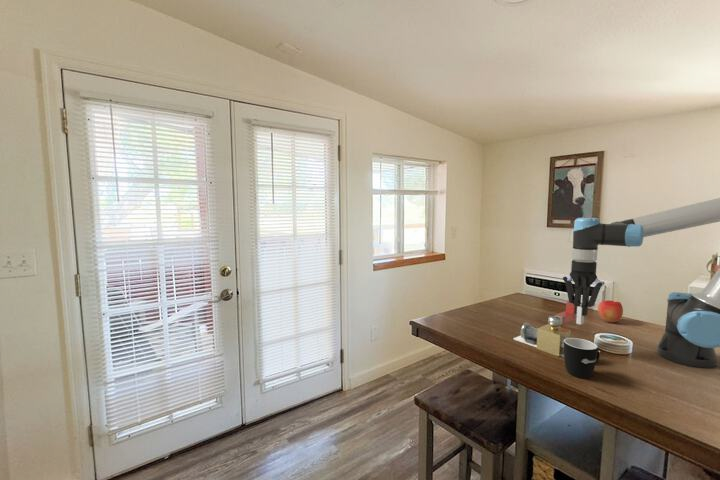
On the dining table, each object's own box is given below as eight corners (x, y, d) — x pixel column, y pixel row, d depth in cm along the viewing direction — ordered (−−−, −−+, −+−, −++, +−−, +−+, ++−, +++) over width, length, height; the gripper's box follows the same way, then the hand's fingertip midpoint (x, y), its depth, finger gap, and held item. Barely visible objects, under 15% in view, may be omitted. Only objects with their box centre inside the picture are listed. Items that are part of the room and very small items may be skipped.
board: (600, 352, 122) (600, 351, 122) (581, 363, 114) (582, 362, 113) (533, 331, 142) (533, 330, 142) (513, 339, 134) (513, 338, 134)
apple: (625, 322, 152) (627, 301, 151) (617, 326, 147) (619, 304, 146) (601, 316, 160) (602, 296, 159) (592, 320, 155) (594, 299, 153)
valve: (590, 357, 117) (592, 332, 116) (580, 364, 113) (582, 337, 112) (529, 337, 136) (530, 315, 135) (518, 342, 131) (519, 319, 130)
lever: (557, 327, 120) (558, 311, 120) (546, 324, 124) (546, 308, 123) (578, 318, 130) (579, 303, 129) (567, 315, 133) (568, 300, 133)
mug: (579, 382, 101) (581, 350, 100) (555, 368, 110) (557, 339, 109) (610, 377, 104) (612, 346, 103) (585, 364, 113) (587, 335, 112)
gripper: (609, 261, 117) (604, 326, 119) (569, 257, 127) (565, 316, 130) (600, 264, 112) (595, 331, 115) (560, 259, 123) (556, 320, 126)
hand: (580, 323), depth 122 cm, fingers closed
